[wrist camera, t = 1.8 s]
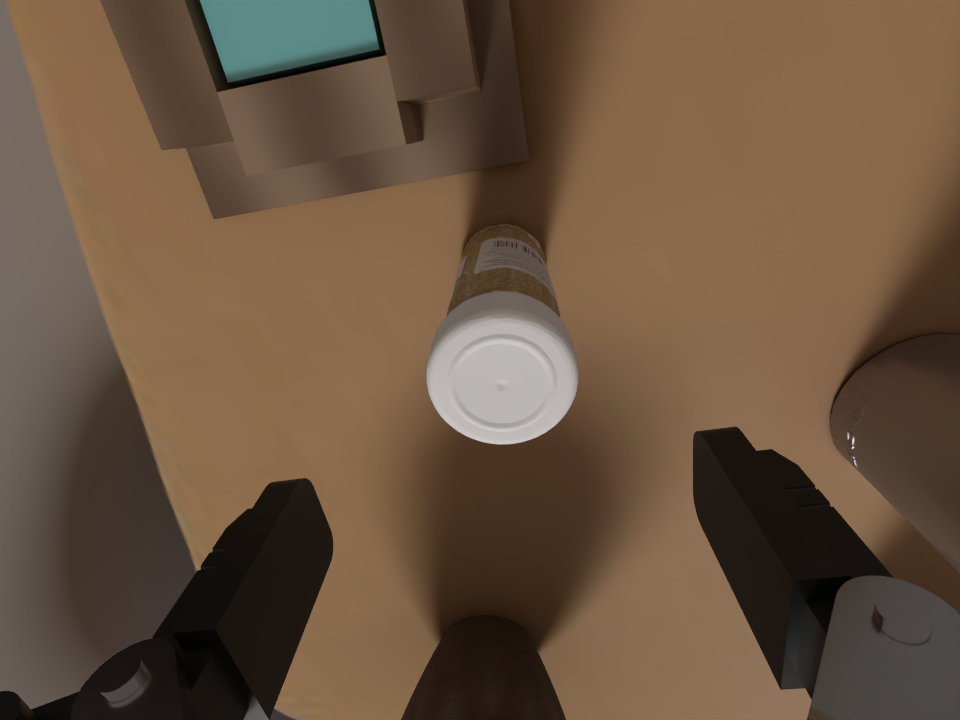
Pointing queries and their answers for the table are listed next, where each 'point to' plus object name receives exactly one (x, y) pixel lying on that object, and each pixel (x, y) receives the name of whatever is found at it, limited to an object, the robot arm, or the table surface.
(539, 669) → the plant pot
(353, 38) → the teal square tile
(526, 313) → the sprinkles bottle
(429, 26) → the socket block
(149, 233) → the table surface
